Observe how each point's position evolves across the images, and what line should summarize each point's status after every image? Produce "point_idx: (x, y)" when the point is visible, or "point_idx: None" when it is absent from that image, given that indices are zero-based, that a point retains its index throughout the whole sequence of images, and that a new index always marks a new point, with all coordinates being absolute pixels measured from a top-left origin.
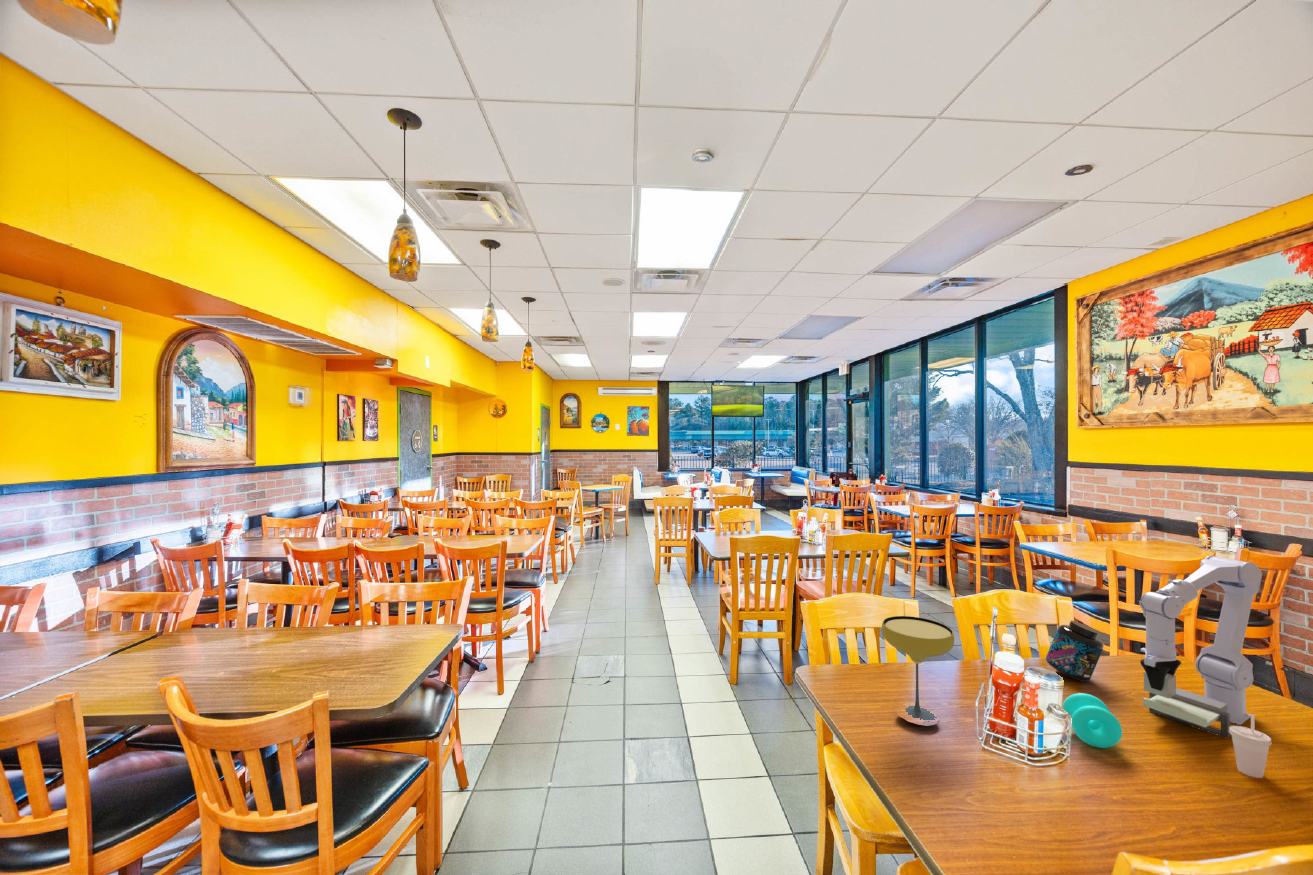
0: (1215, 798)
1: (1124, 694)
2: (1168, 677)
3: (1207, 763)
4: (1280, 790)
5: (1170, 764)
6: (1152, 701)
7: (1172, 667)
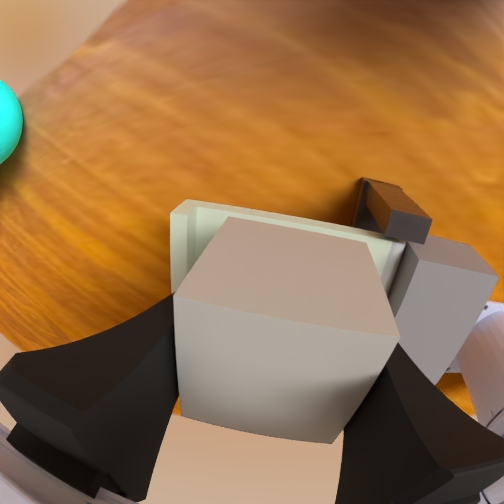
0: (25, 319)
1: (470, 88)
2: (241, 422)
3: (109, 323)
4: None
5: (41, 269)
6: (170, 252)
7: (346, 487)
